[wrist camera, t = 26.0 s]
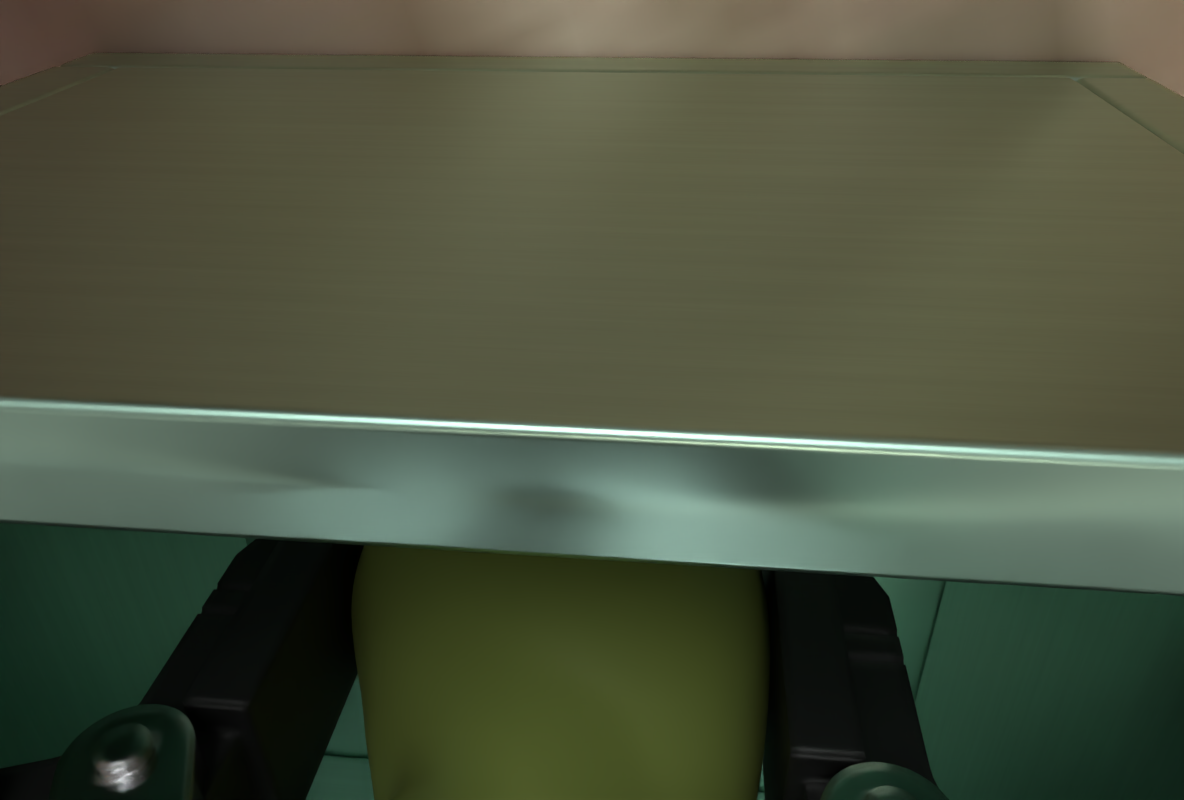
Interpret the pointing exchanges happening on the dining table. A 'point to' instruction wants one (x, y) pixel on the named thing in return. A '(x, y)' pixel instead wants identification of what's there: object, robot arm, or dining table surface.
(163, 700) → the robot arm
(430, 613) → the pear
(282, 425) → the box
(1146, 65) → the dining table surface
